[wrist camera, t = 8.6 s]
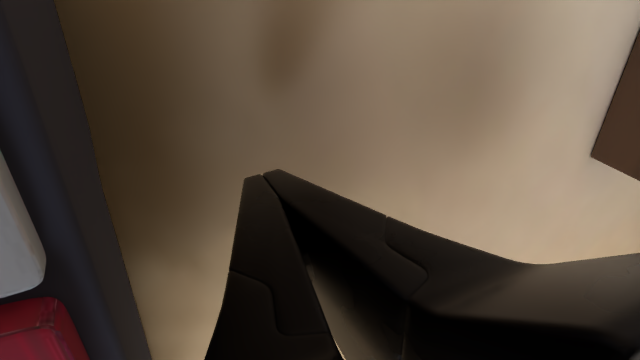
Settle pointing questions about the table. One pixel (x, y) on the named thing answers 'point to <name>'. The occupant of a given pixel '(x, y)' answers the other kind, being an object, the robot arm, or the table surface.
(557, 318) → the robot arm
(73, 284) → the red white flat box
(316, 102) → the table surface
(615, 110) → the walnut block
